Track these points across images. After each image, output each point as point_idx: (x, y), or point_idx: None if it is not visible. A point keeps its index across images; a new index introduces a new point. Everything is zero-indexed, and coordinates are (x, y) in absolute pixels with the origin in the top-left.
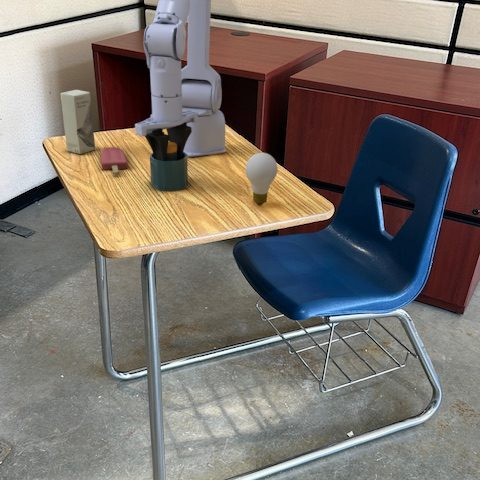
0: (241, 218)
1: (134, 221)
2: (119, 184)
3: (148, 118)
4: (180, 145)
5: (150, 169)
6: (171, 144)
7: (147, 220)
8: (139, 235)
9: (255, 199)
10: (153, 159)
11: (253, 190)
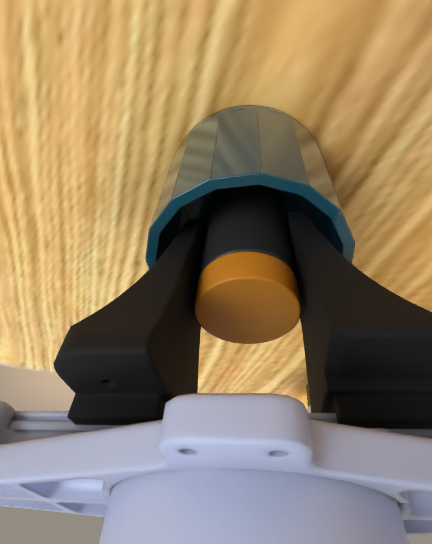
0: (241, 386)
1: (33, 310)
2: (41, 37)
3: (73, 477)
4: (304, 333)
5: (163, 187)
6: (261, 322)
7: (64, 319)
8: (31, 347)
9: (307, 393)
10: (148, 264)
11: (307, 411)
